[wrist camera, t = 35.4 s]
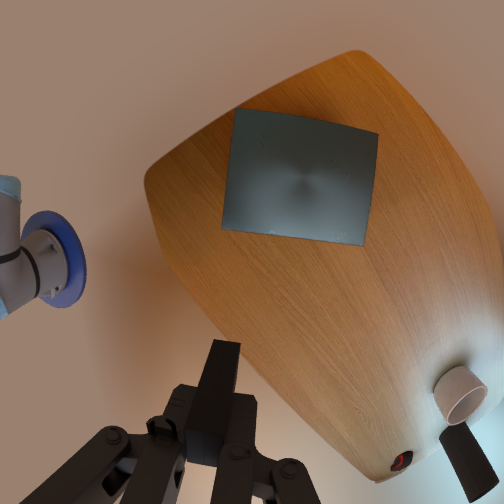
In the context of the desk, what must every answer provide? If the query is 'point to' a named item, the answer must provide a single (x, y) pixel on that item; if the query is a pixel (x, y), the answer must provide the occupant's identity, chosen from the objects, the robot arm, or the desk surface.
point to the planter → (459, 394)
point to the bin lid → (299, 177)
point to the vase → (468, 461)
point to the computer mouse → (402, 461)
